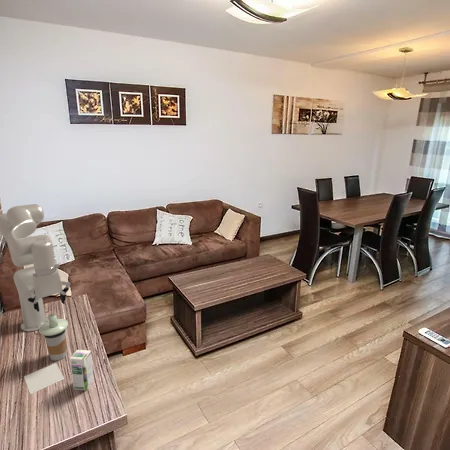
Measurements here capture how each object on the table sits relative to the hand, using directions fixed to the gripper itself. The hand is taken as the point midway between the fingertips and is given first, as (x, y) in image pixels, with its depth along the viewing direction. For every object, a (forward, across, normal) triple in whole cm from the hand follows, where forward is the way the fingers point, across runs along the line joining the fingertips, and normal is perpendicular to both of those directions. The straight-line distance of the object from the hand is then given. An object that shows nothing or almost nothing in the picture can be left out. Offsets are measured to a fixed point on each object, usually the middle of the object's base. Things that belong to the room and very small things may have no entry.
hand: (50, 306), depth 129 cm
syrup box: (+25, -3, +25) cm, 36 cm away
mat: (+25, +8, +11) cm, 29 cm away
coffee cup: (+26, 0, +1) cm, 26 cm away
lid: (+10, 0, +1) cm, 10 cm away
